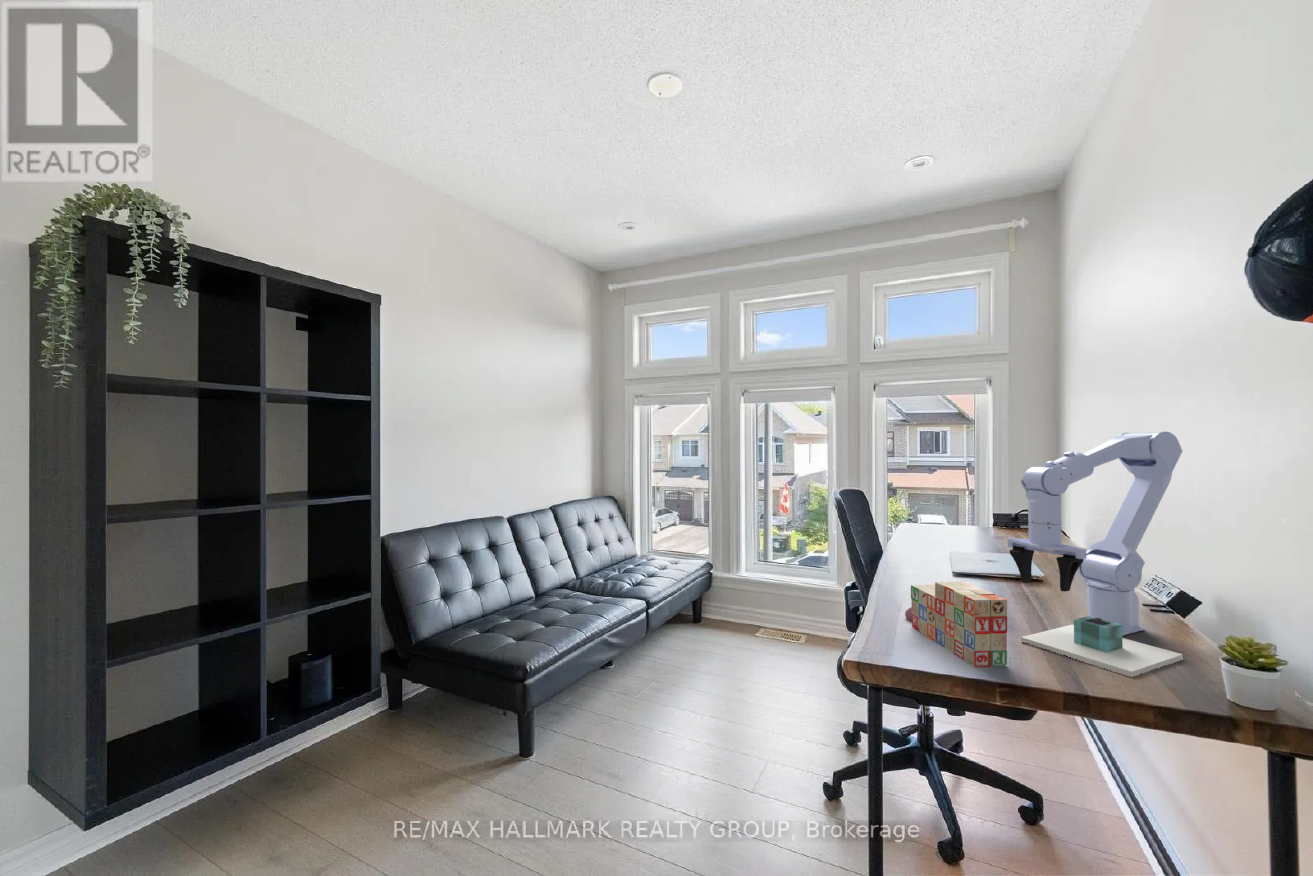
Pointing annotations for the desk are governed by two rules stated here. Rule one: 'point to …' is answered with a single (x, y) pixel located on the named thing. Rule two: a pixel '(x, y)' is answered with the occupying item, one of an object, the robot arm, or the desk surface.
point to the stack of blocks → (963, 621)
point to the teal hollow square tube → (1098, 634)
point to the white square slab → (1123, 660)
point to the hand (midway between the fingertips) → (1045, 586)
